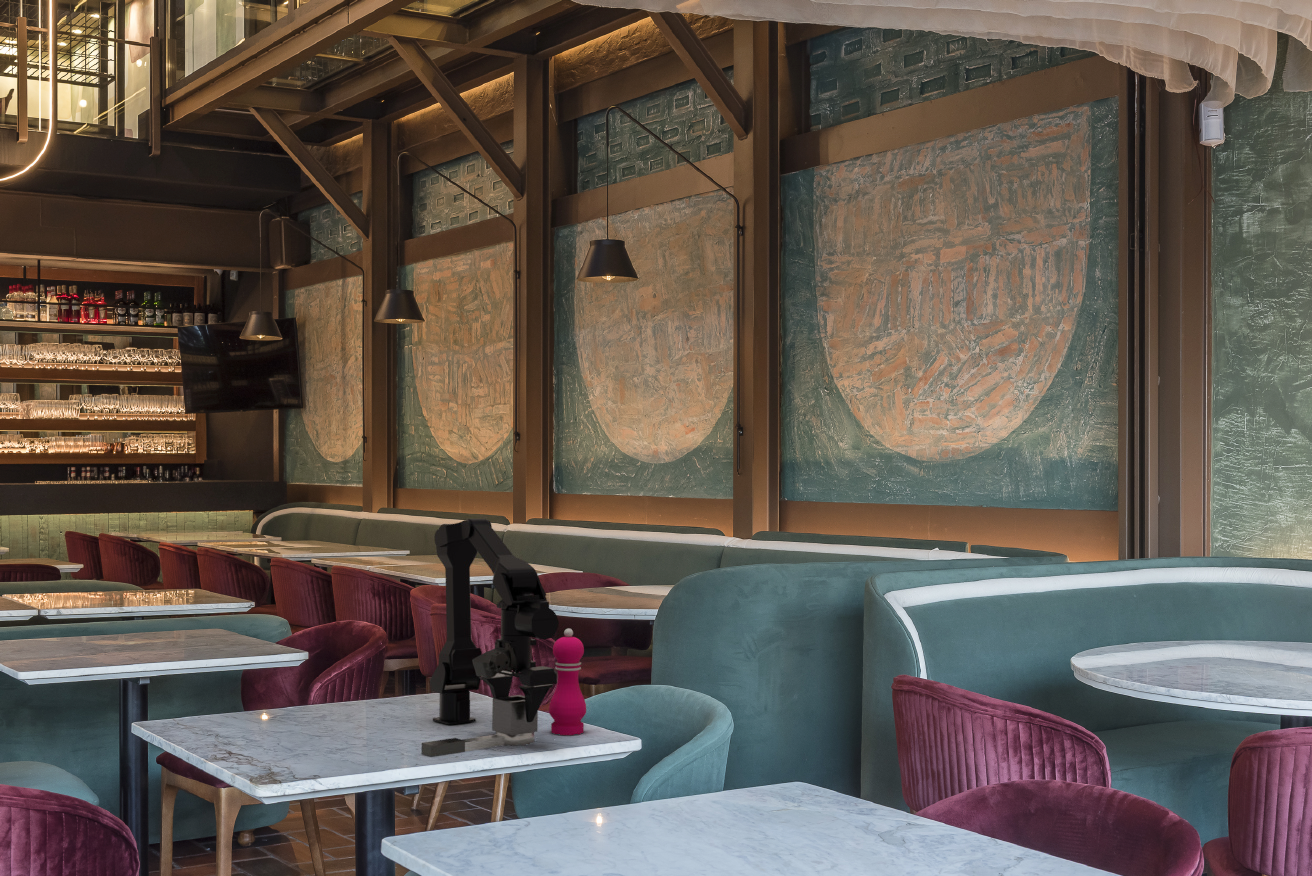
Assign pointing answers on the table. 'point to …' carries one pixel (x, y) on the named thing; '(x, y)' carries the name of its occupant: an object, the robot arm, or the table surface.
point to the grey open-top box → (511, 716)
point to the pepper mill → (567, 687)
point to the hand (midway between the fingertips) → (515, 718)
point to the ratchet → (473, 743)
